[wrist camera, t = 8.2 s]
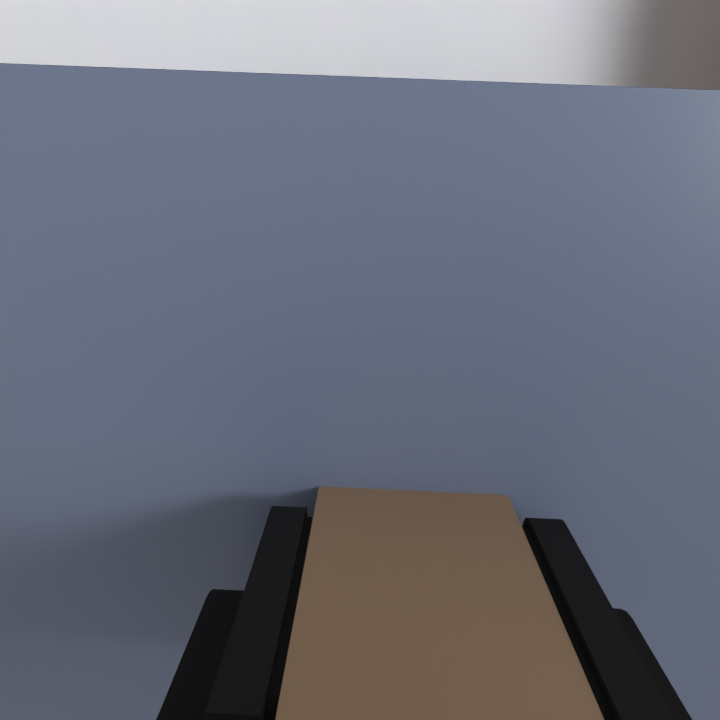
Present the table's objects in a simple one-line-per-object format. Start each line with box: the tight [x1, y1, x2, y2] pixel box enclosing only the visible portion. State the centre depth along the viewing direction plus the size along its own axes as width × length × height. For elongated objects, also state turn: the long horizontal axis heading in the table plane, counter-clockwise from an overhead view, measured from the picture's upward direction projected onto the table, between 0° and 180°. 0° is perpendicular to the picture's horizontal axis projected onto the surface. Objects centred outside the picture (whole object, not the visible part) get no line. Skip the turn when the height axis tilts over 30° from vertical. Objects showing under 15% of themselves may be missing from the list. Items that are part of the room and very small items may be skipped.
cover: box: [0, 63, 720, 720], centre depth 9 cm, size 15×15×8 cm
